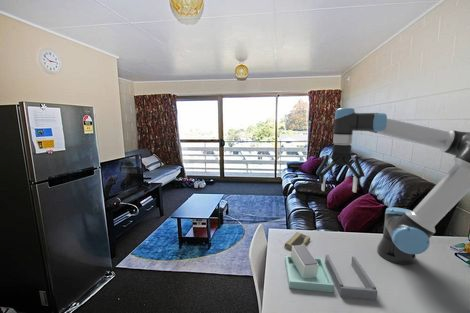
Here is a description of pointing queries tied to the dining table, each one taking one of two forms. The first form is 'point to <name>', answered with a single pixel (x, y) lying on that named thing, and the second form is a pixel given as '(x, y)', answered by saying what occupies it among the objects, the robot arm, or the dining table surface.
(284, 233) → the dining table surface
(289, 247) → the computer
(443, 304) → the dining table surface
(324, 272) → the tray
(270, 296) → the dining table surface
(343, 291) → the tray
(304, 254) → the grey bevelled prism
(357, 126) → the robot arm
